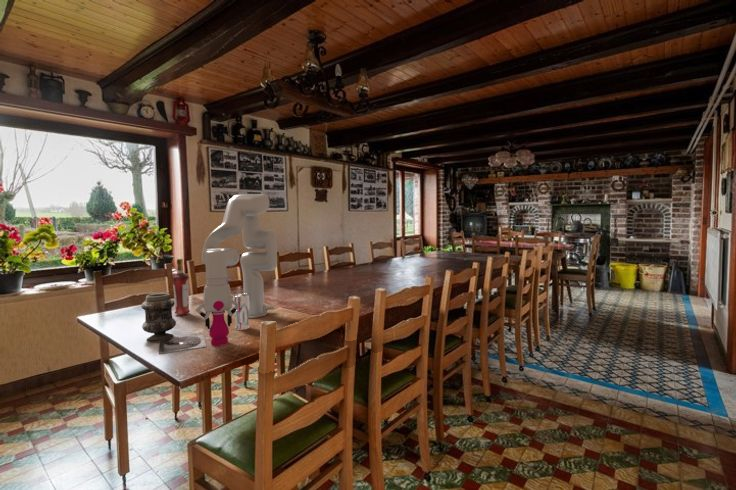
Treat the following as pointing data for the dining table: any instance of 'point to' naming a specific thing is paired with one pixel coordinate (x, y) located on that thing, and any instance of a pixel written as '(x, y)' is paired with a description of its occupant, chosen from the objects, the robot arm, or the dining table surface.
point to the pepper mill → (218, 326)
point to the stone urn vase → (158, 316)
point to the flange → (182, 344)
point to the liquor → (181, 290)
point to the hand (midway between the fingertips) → (218, 326)
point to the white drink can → (241, 311)
